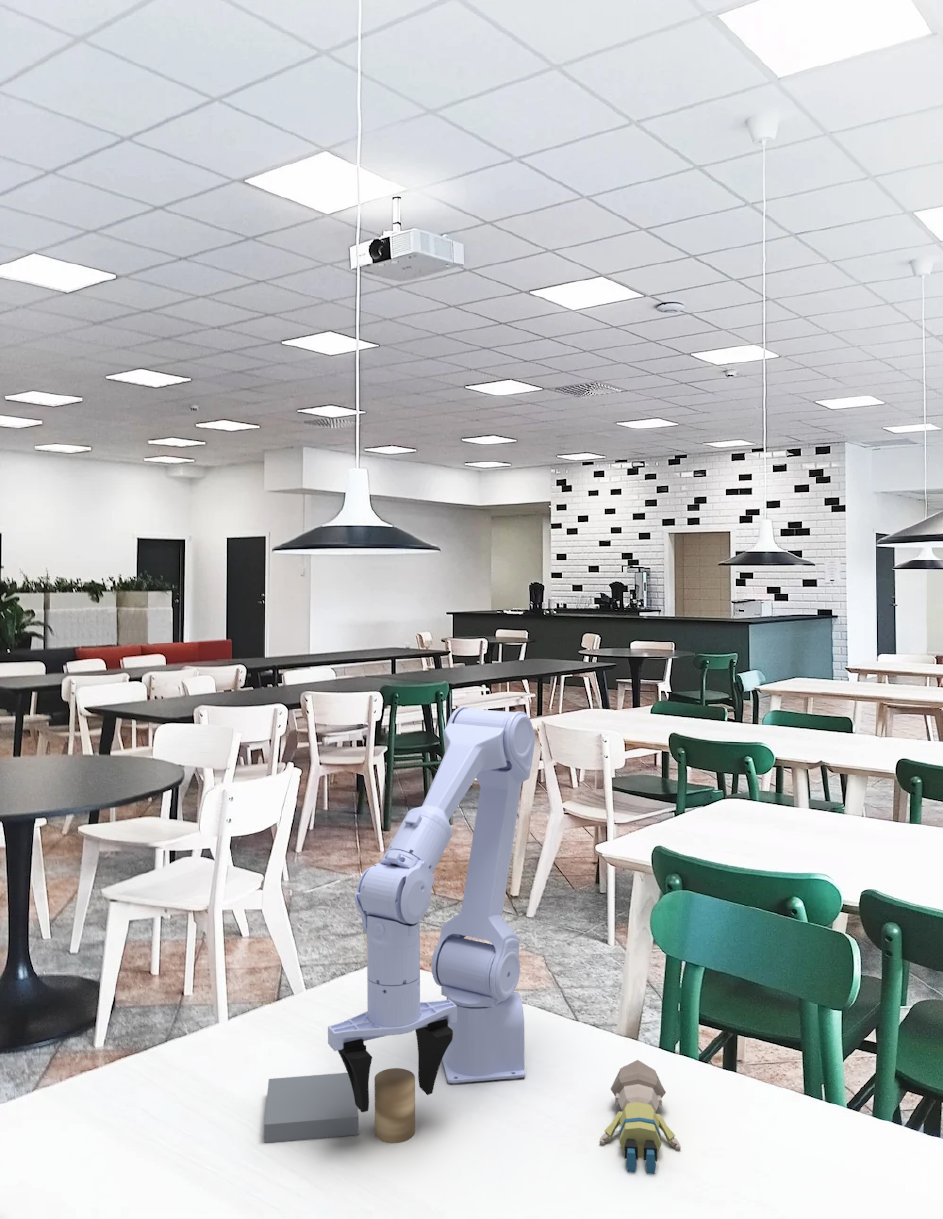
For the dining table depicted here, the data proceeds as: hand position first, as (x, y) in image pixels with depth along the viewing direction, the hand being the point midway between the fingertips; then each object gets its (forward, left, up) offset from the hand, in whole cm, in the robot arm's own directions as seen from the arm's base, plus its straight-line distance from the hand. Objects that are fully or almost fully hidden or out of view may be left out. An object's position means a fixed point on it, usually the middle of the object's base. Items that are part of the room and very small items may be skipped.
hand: (394, 1098), depth 112 cm
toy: (-26, +4, -4) cm, 27 cm away
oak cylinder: (0, 0, -4) cm, 4 cm away
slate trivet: (+9, -5, -4) cm, 11 cm away
